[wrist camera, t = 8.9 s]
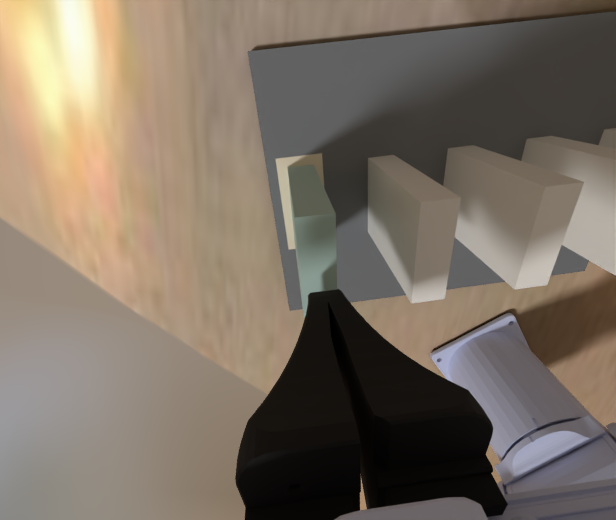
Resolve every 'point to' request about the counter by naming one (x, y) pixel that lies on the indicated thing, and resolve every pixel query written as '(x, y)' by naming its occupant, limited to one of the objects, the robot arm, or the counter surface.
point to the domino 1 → (312, 232)
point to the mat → (424, 121)
